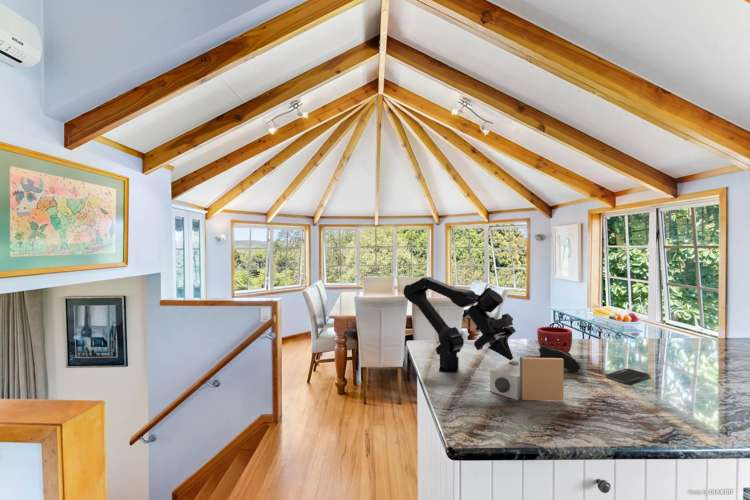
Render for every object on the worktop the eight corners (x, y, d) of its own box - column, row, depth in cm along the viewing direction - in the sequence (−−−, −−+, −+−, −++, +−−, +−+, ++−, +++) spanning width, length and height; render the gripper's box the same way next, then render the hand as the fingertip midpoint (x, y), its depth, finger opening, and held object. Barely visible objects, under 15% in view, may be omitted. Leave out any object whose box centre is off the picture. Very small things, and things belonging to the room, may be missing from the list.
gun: (573, 388, 132) (586, 365, 131) (531, 365, 135) (544, 343, 133) (570, 385, 135) (583, 362, 134) (529, 363, 137) (542, 340, 136)
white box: (488, 392, 115) (488, 368, 115) (510, 379, 125) (510, 358, 125) (515, 401, 109) (515, 376, 108) (536, 387, 119) (536, 364, 119)
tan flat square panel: (519, 397, 110) (519, 357, 110) (561, 398, 109) (561, 357, 109) (520, 399, 108) (520, 358, 108) (563, 400, 108) (563, 359, 107)
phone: (604, 375, 127) (627, 368, 134) (604, 378, 127) (627, 371, 134) (628, 382, 120) (651, 374, 127) (628, 386, 120) (651, 377, 127)
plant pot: (573, 355, 152) (573, 327, 152) (570, 364, 141) (570, 334, 141) (539, 351, 159) (539, 324, 159) (535, 359, 148) (535, 330, 148)
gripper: (482, 310, 115) (515, 352, 107) (510, 303, 127) (541, 340, 120) (461, 329, 121) (491, 371, 113) (490, 321, 133) (518, 358, 126)
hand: (511, 359), depth 118 cm, fingers closed
